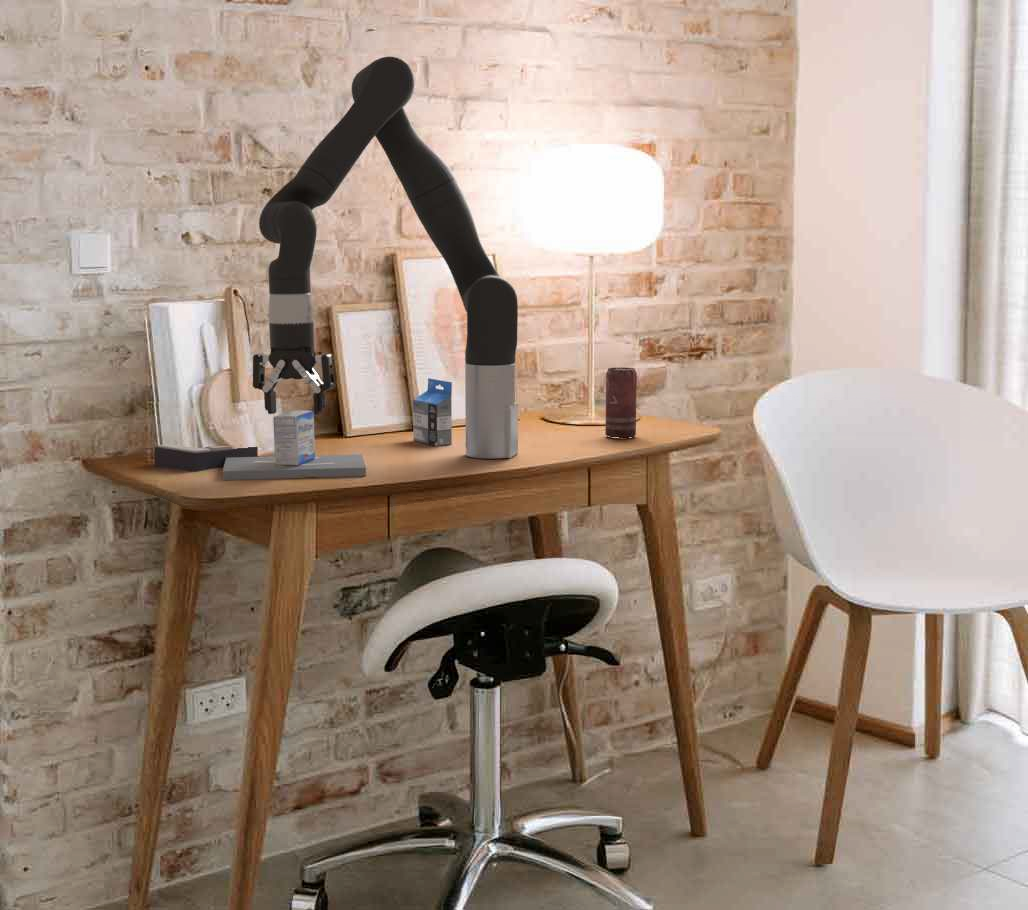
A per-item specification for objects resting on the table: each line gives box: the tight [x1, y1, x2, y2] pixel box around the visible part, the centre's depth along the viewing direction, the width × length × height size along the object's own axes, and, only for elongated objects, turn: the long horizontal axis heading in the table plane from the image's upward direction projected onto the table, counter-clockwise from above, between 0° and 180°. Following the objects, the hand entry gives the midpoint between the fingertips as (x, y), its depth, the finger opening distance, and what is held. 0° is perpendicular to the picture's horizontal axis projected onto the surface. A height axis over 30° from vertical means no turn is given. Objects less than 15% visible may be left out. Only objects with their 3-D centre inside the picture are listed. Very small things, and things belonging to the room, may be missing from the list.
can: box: [605, 367, 638, 438], centre depth 276 cm, size 6×6×14 cm
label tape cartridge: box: [412, 378, 453, 447], centre depth 269 cm, size 9×4×12 cm, turn 36°
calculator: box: [154, 443, 259, 473], centre depth 247 cm, size 11×4×15 cm
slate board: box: [222, 453, 367, 481], centre depth 239 cm, size 24×14×2 cm, turn 99°
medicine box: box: [272, 409, 316, 466], centre depth 238 cm, size 8×4×9 cm, turn 166°
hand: (295, 413), depth 237 cm, fingers open, 8 cm apart
